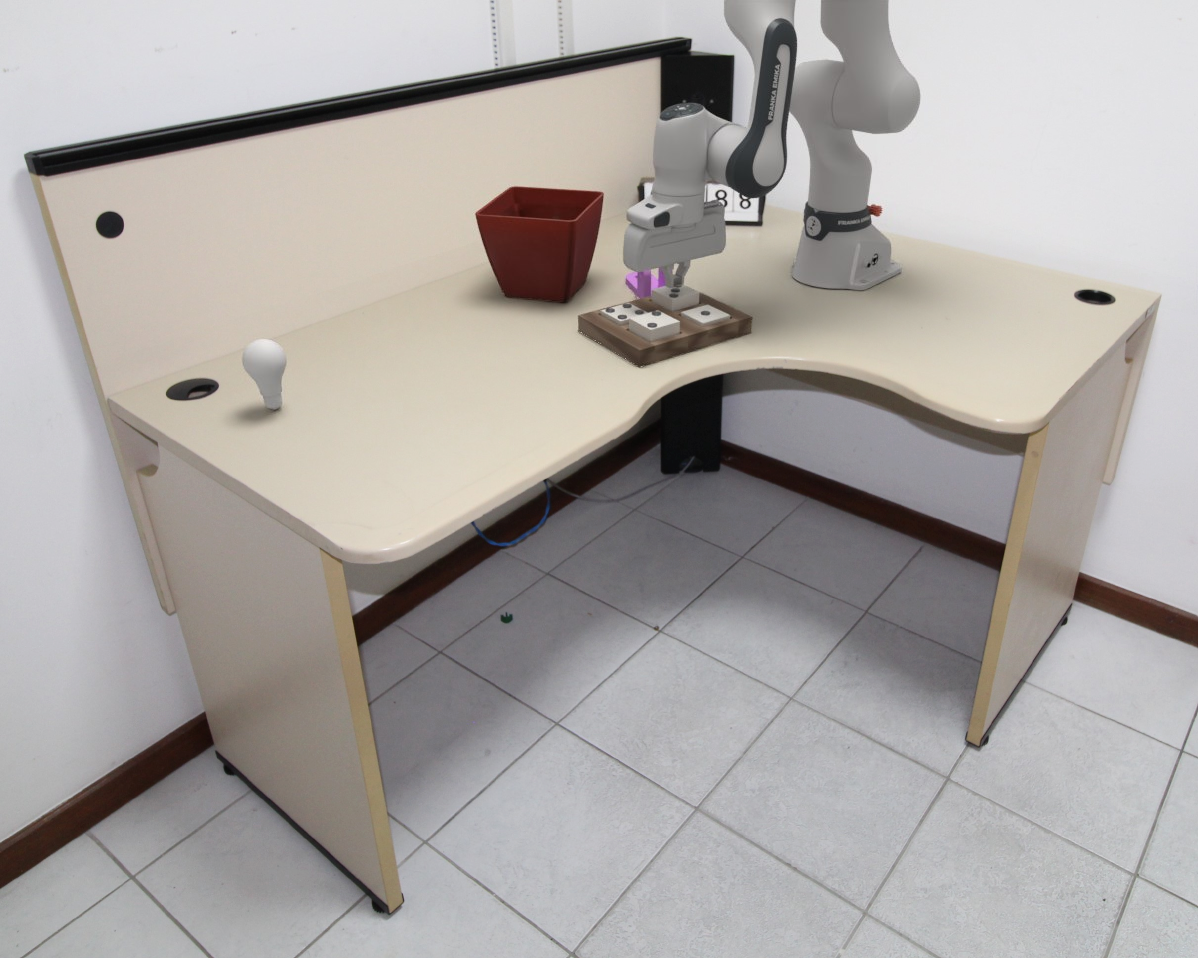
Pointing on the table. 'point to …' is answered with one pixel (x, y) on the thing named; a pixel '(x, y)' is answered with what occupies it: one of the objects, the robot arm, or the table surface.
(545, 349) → the table surface
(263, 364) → the lightbulb
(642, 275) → the bracket
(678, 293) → the button three dots
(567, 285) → the plant pot
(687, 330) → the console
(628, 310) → the button four dots
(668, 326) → the button two dots
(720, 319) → the button one dot
